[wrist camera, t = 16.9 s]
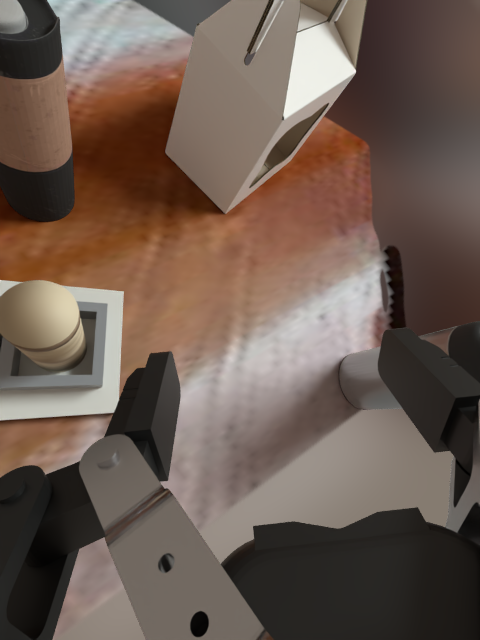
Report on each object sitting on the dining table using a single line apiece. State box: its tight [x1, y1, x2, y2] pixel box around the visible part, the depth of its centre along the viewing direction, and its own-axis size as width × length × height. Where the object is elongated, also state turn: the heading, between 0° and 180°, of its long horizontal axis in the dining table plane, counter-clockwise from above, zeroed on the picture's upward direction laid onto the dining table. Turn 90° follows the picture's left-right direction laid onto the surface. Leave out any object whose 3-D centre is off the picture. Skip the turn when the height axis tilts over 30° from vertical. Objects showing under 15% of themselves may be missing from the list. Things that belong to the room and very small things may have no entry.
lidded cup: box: [0, 280, 87, 373], centre depth 26 cm, size 5×5×12 cm
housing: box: [0, 280, 124, 420], centre depth 29 cm, size 21×14×4 cm, turn 95°
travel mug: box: [0, 0, 74, 222], centre depth 28 cm, size 8×8×20 cm
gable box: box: [165, 0, 367, 213], centre depth 40 cm, size 22×13×28 cm, turn 142°
